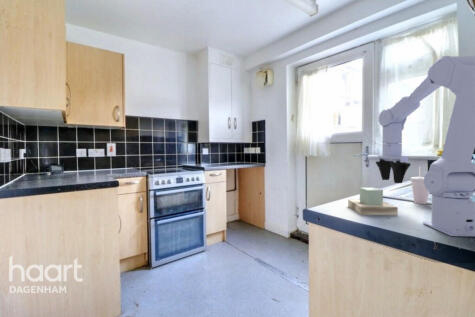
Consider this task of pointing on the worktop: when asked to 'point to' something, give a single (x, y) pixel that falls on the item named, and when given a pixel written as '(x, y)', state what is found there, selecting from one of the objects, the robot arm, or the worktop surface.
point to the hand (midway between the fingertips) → (391, 181)
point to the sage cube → (371, 196)
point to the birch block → (373, 208)
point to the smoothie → (419, 189)
